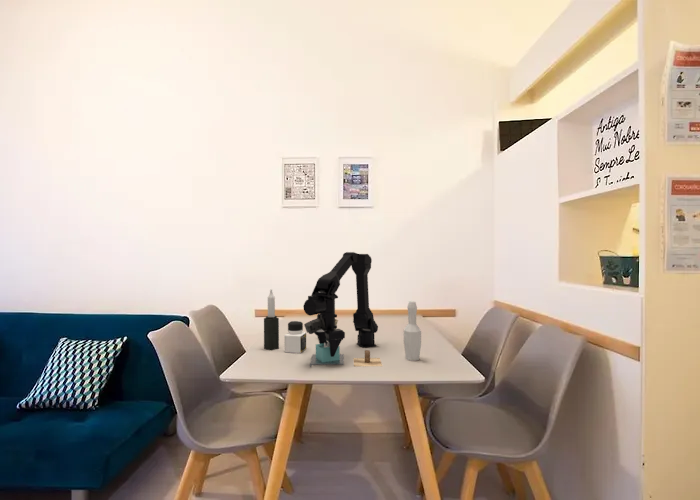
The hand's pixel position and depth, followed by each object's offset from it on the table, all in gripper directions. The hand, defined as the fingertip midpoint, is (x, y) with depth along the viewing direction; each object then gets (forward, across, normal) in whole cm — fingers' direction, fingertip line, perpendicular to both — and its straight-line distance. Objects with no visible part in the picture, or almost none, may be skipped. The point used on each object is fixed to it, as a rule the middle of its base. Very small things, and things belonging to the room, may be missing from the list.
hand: (327, 353), depth 142 cm
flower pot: (+3, -33, +14) cm, 36 cm away
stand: (+3, +9, +12) cm, 15 cm away
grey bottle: (+3, +13, +29) cm, 32 cm away
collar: (+2, 0, 0) cm, 2 cm away
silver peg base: (+3, 0, 0) cm, 3 cm away
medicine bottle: (+3, -20, -6) cm, 21 cm away
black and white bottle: (+3, -28, -14) cm, 31 cm away
